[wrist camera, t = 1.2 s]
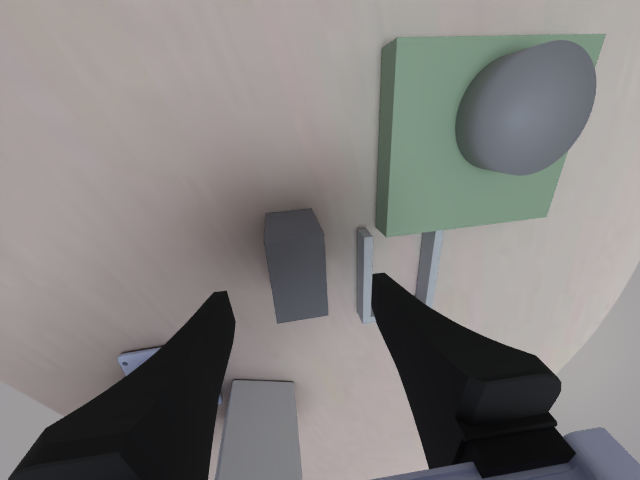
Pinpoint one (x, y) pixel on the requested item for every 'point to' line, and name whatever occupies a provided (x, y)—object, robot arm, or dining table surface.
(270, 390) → the milk carton
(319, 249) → the dark gray block
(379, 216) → the green panel
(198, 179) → the dining table surface
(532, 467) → the robot arm
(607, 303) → the dining table surface
